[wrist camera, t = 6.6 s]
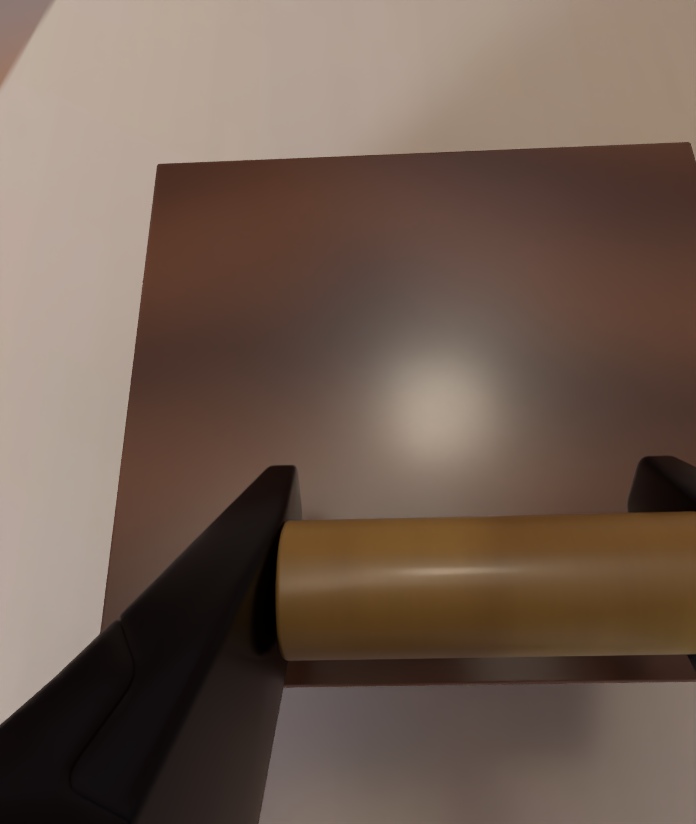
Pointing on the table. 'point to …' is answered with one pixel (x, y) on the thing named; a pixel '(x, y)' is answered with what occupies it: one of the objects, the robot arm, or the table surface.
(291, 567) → the brown wooden lid
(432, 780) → the table surface
